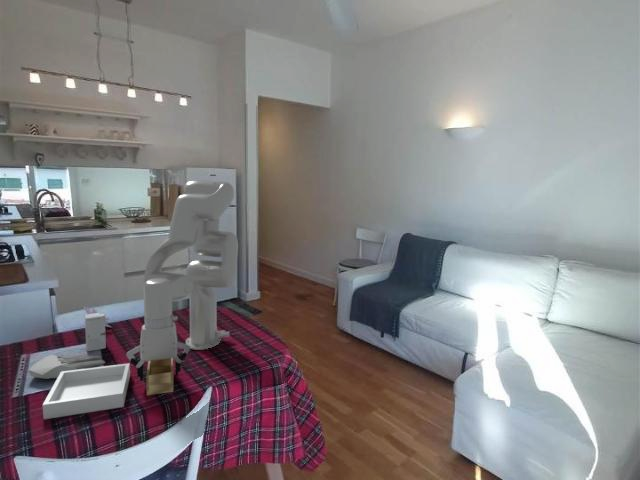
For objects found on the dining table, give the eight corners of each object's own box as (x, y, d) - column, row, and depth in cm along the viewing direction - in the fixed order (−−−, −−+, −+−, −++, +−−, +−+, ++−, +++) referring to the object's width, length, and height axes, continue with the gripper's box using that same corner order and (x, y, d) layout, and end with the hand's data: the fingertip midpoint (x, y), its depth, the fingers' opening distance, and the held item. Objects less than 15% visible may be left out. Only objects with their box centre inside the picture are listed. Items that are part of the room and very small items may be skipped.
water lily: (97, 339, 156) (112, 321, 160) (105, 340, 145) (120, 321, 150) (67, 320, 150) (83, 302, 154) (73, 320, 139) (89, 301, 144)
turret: (106, 372, 123) (108, 358, 123) (31, 386, 109) (32, 370, 109) (96, 361, 130) (98, 348, 130) (24, 372, 116) (26, 357, 115)
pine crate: (173, 373, 121) (173, 355, 120) (173, 392, 110) (172, 373, 109) (149, 376, 118) (148, 358, 117) (146, 396, 108) (146, 376, 107)
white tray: (130, 375, 118) (129, 363, 117) (123, 406, 102) (122, 393, 102) (62, 384, 112) (61, 371, 111) (43, 419, 96) (42, 404, 95)
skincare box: (86, 352, 131) (84, 318, 129) (86, 346, 135) (83, 314, 133) (106, 348, 135) (105, 315, 133) (105, 343, 138) (104, 311, 136)
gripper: (189, 314, 117) (189, 366, 120) (127, 319, 111) (128, 374, 114) (190, 323, 110) (190, 378, 113) (123, 328, 104) (125, 386, 107)
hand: (159, 376), depth 113 cm, fingers open, 9 cm apart
